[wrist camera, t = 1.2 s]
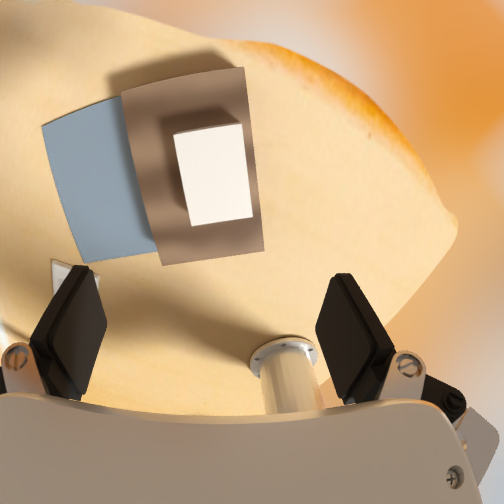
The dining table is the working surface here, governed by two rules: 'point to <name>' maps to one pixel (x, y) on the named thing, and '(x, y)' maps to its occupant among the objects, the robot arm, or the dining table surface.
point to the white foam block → (214, 173)
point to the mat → (99, 182)
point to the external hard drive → (64, 274)
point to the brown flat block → (167, 167)
